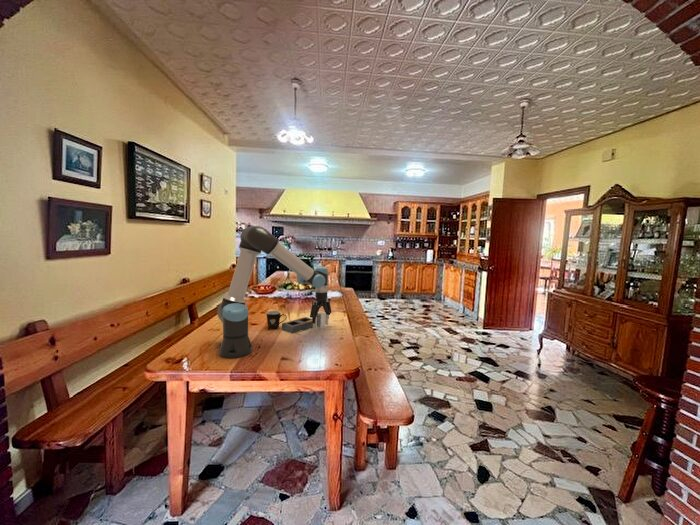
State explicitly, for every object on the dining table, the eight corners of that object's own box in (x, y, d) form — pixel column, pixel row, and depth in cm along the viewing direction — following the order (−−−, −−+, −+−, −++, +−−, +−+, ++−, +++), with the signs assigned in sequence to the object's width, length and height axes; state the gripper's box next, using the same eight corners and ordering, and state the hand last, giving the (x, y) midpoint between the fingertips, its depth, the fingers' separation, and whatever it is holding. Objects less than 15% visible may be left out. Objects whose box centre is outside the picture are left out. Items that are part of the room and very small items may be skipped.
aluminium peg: (320, 330, 182) (321, 314, 181) (316, 328, 185) (316, 313, 184) (325, 328, 185) (325, 313, 184) (320, 327, 188) (320, 312, 187)
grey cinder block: (292, 333, 175) (292, 326, 174) (281, 329, 181) (281, 322, 181) (316, 326, 190) (316, 319, 190) (305, 322, 197) (305, 316, 196)
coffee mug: (263, 329, 181) (263, 313, 180) (271, 325, 189) (271, 310, 188) (280, 331, 178) (280, 315, 177) (287, 327, 186) (287, 312, 185)
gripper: (312, 295, 172) (312, 331, 174) (337, 290, 189) (336, 323, 191) (304, 293, 176) (303, 329, 179) (329, 288, 194) (328, 321, 196)
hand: (320, 326), depth 185 cm, fingers open, 10 cm apart
